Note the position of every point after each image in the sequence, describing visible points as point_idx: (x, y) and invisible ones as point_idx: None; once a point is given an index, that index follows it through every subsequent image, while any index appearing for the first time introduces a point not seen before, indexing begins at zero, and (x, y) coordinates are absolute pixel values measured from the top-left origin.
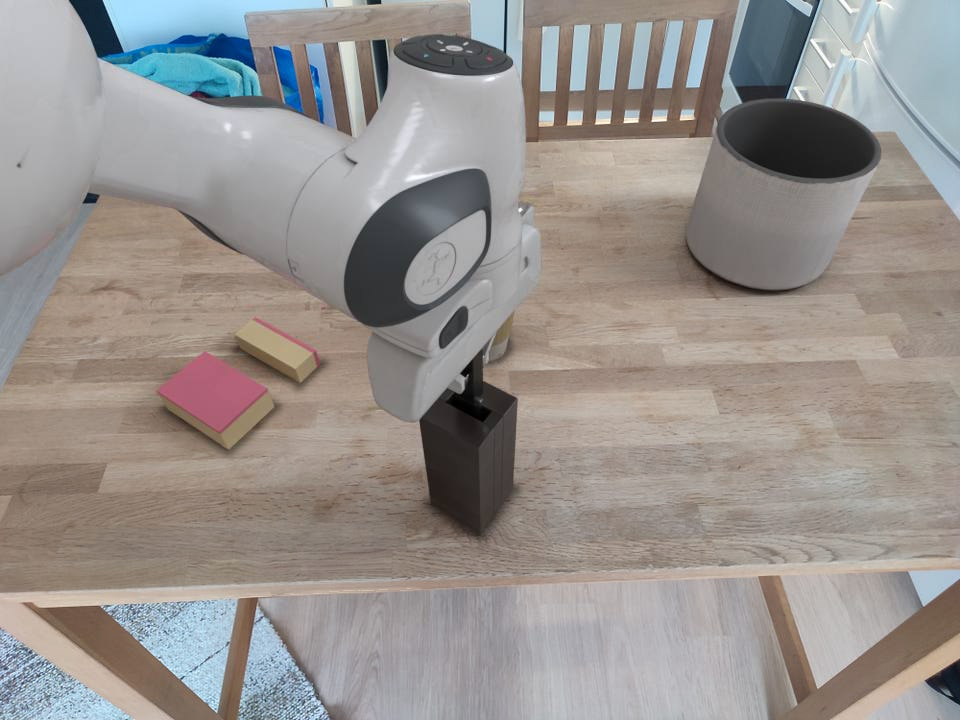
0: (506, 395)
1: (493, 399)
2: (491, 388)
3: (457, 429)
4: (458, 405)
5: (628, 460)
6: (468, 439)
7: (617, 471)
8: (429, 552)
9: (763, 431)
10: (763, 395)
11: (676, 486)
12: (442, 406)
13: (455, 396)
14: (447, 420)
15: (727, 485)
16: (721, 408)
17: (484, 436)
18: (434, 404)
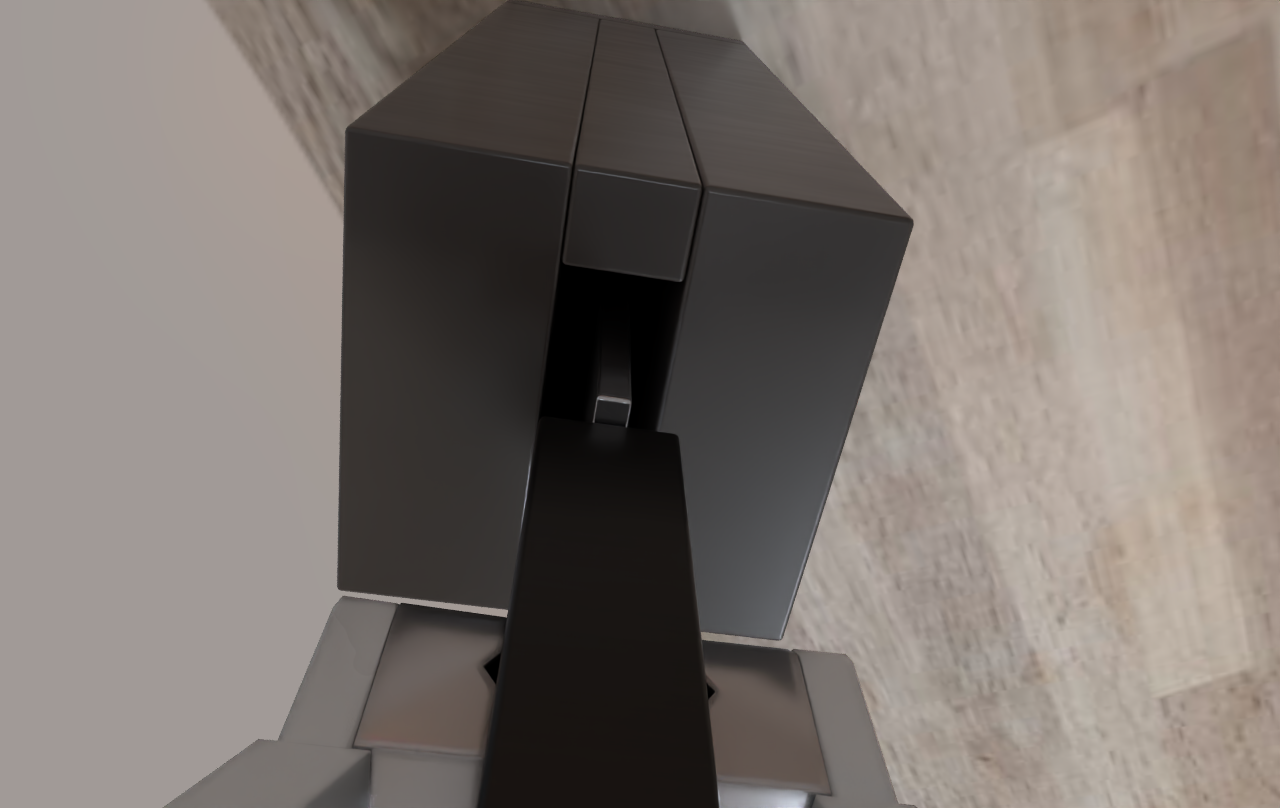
0: (777, 585)
1: (718, 533)
2: (801, 491)
3: (388, 437)
4: (596, 338)
5: (929, 537)
6: (361, 520)
7: (880, 521)
8: (341, 87)
9: (1115, 785)
10: (1245, 770)
11: (879, 656)
12: (512, 264)
13: (598, 356)
14: (418, 350)
15: (920, 747)
16: (1181, 699)
17: (432, 586)
18: (502, 198)
